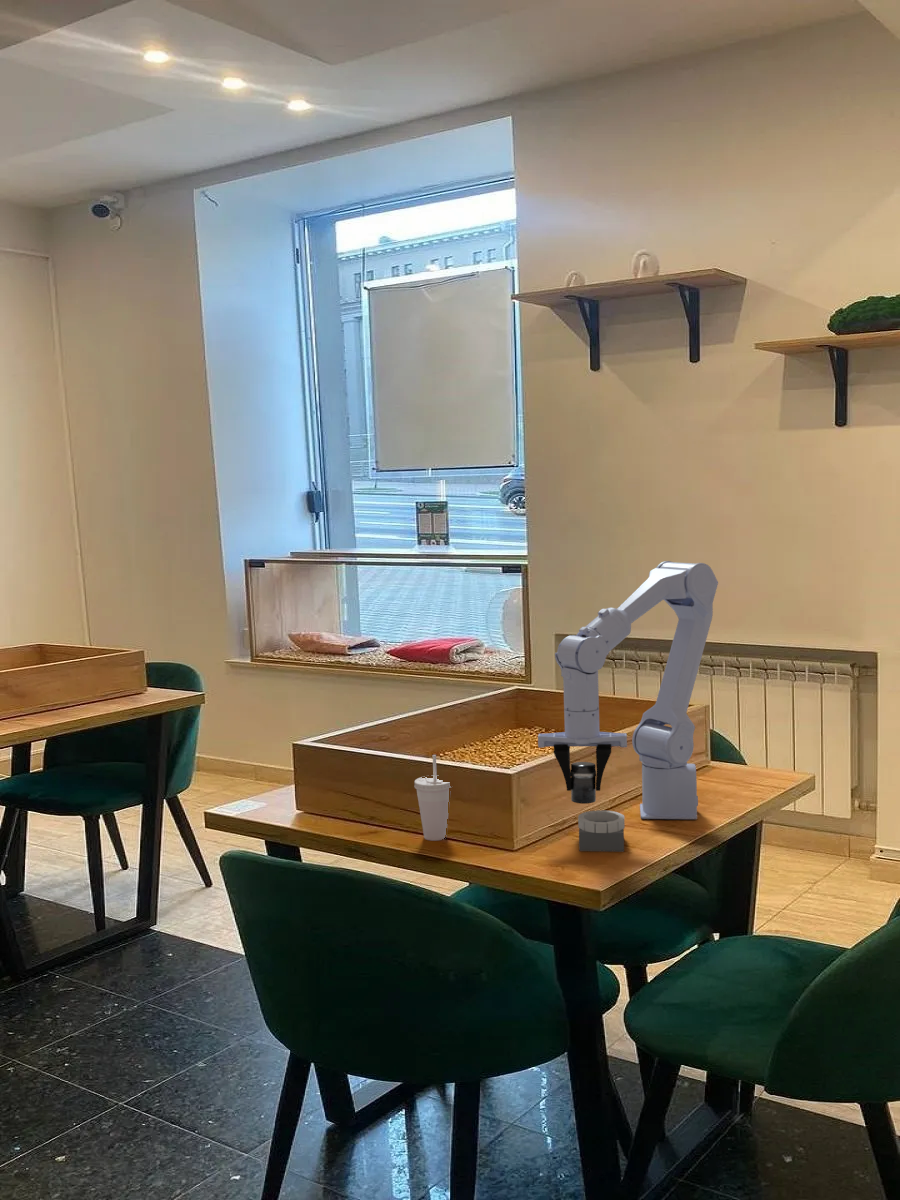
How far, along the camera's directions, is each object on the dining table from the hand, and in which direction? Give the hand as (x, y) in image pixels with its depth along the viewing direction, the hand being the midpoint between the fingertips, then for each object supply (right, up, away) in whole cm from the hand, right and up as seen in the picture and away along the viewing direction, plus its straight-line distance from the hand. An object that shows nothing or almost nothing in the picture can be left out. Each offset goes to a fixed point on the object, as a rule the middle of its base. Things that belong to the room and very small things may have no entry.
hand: (583, 789), depth 187 cm
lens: (0, -2, 0) cm, 2 cm away
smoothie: (-25, -8, +1) cm, 26 cm away
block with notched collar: (+2, -8, -6) cm, 10 cm away
